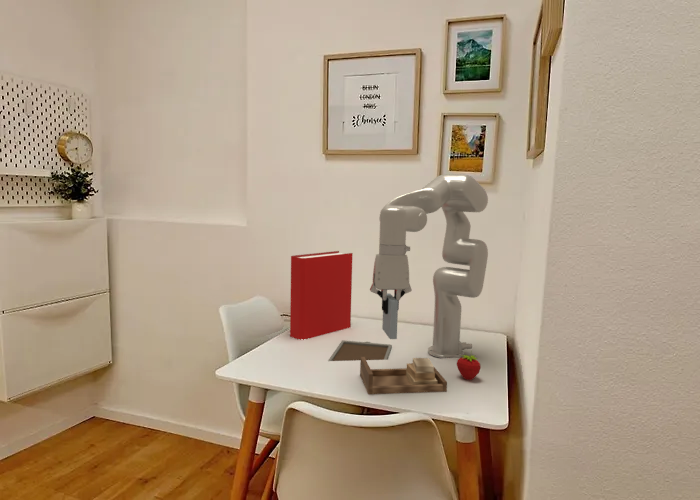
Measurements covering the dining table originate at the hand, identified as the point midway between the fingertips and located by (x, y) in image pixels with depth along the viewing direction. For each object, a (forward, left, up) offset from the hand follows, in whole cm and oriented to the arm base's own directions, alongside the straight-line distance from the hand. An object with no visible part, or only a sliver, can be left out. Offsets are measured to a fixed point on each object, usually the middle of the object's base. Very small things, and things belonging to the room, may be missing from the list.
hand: (390, 312), depth 141 cm
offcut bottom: (-10, 0, -22) cm, 24 cm away
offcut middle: (-10, 0, -20) cm, 22 cm away
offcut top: (-11, 0, -17) cm, 20 cm away
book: (+15, -58, -23) cm, 64 cm away
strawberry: (-26, -2, -23) cm, 35 cm away
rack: (-4, 0, -23) cm, 23 cm away
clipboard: (+3, -28, -24) cm, 37 cm away
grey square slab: (0, 0, -6) cm, 6 cm away
